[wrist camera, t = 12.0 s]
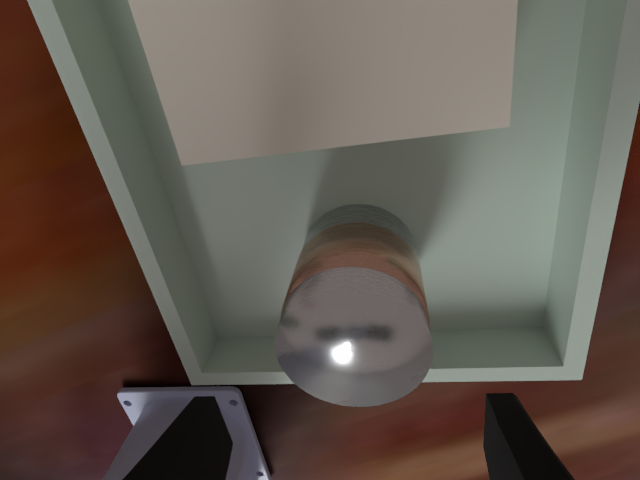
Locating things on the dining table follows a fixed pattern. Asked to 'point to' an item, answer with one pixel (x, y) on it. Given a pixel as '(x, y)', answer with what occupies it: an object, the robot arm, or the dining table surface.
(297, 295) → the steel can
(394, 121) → the beige flat panel
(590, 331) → the tote
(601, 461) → the dining table surface
